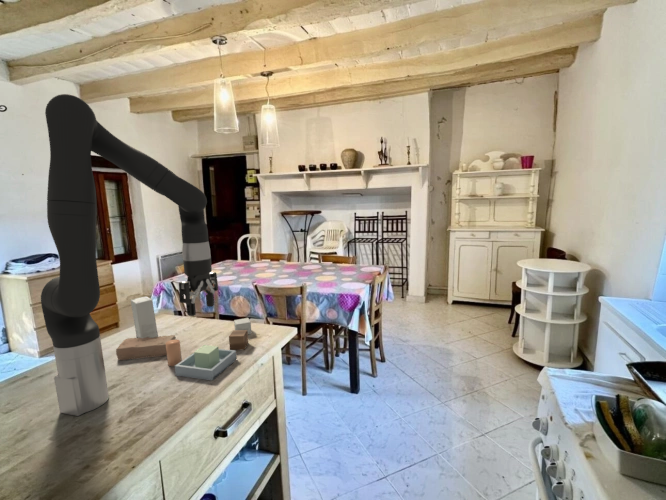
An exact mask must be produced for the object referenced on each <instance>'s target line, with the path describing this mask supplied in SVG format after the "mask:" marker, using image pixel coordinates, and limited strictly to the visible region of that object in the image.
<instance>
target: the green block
mask: <svg viewBox="0 0 666 500" xmlns="http://www.w3.org/2000/svg"><path fill="white" fill-rule="evenodd" d="M219 349H220V348H219V346H218V345H211V344H210V345H209V344H204V345H202V346H201V347H199V348H198V349H197V350H195V351H193V353H194V357H195V367H199V368H207V369H211V368H212V367H213V366H215V365H216V364H217V363H218V362H219V361H220V359H219Z"/></svg>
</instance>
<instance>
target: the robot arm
mask: <svg viewBox="0 0 666 500" xmlns="http://www.w3.org/2000/svg"><path fill="white" fill-rule="evenodd" d="M44 114H45V120H46V126H47V133H48V141H49V150H50V151H49V153H50V157H49V158H50V159H49V167H48V168H49V169H48V179H47V181H48V182H47V193H46V194H47V196H46V200H47V201H46V207H47V208H46V212H47V214H46V217H47V223H48V224H47V225H48V228H49V232H50V234H51V237H52V239H53V242H54V245H55V247H56V250H57V253H58V258H59V276H57V277H55V278H52V279H50V280H49V281H47V283H46V284H45V285H44V286H43V288H42V291H41V294H40V304H41V310H42V315H43V319H44V324H45V327H46V331H47V333H48V336H49V337H50V338H51V342H52V346H53V347H52V348H53V352H54V358H55V365H56V370H57V375H56V376H54V377H53V380H54V385H55V386H54V387H55V392H56V398H57V403H58V410H59V413H60V414H65V415H70V416H76V417H79V416H81V415H83V414H84V413H88V412H91V411H93V410H95V409H98V408H100V406H102V405H103V404H106V402H107V401H108V400H109V397H110V394H109V387H108V381H107V375H106V374H107V373H106V368H105V361H104V353H103V347H102V340H101V333H100V327H99V325H98V324H97V322H95V320H94V318H93V317H92V315H91V313H92V312H93V311H94V309H96V307H97V306H98V303H99V301H100V297H101V289H100V280H99V274H98V272H99V271H98V264H97V263H98V262H97V213H98V212H97V211H98V210H97V209H98V208H97V203H98V202H97V191H96V190H97V189H96V184H95V178H94V173H93V168H92V152H93V153H95V154H96V155H98V156H99V157H102V158H103V159H105V160H107V161H109V162H110V163H112V164H113V165H115V166H116V167H118V168H120V169H121V170H123V171H124V172H125V173H126V174H128V175H129V176H132V177H133V178H134V179H136V180H137V181H139V182H140V183H141V184H142V185H144V186H146V187H147V188H149V189H151V190H152V191H154V192H156V193H157V194H159V195H161V196H164V197H166V198H167V199H169V200H170V201H171V202H173V203H174V204H176V205H177V207H178V213H179V217H180V218H179V219H180V223H181V240H182V241H181V242H182V248H181V249H182V251H181V253H182V262H183V272H184V275H186V276H187V278H186V279H187V280H185V281H179V282H178V292H179V303H181V304H185V305H186V314H187V315H188V316H189V317H194V316H196V314H197V313H196V303H195V301H196V298H197V297H198V296H199V294H200V293H201V292H203V291H204V293H205V299H206V301H205V302H206V306H207V307H210V308H211V307H214V306H215V297H214V295H215V293H216V291H219V285H218V283H219V282H218V277H217V272H213V271H212V270H213V269H212V256H211V248H210V242H209V230H208V225H207V223H206V220H205V209H206V206H207V205H208V204H207V203H208V200H207V196H206V194H205V193H204V192H203V191H202V190H201V189H200V188H198V187H197V186H195V185H194V184H192V183H191V182H189V181H187V180H185V179H183V178H181V177H180V176H178V175H177V174H175V172H173V171H171V170H170V169H169V168H168V167H166V166H165V165H163V164H162V163H161V162H159V161H158V160H157V159H155V158H152V157H151V156H150V155H148V154H146V153H145V152H142V151H141V150H138V149H136V148H135V147H133V146H131V145H130V144H127V143H126V142H124V141H122V140H121V139H119V138H118V137H116V136H115V135H114V134H113V133H111V132H110V131H109V130H108V129H106V127H104V126H103V125H102V124H101V123H100V122H99V121H98V120H97V117H96V114H95V112H94V111H93V109H92V108H91V106H90V105H89V104H88V103H87V102H86V101H84V100H83V99H81V98H80V97H78V96H76V95H74V94H71V93H70V94H68V93H61V94H58V95H55V96H53V97H52V98H51V99H50V100H49V101H48V103H47V104H46V107H45V113H44Z"/></svg>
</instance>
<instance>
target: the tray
mask: <svg viewBox="0 0 666 500" xmlns="http://www.w3.org/2000/svg"><path fill="white" fill-rule="evenodd" d="M219 359H220V361H219V362H218V363H217V364H216V365H215V366H213V367H212V368H211V369H207V368H199V367H195V357H194V352H193V353H192V354H190V355H188V356H187V357H185V358H184V359H182V361H181V362H180V363H178V364H177V365H175V366H174V371H175V376H178V377H184V378H193V379H199V380H207V381H212V380H213V381H215V379H216V378H217V377H219V376H220V375H221V374H222V373H223V372H224V371H226V370H227V369H228V368H229V367H230V366H231V365H232V364H233V363H234V362H236V361H237V360H236V359H237V350H230V349H225V348H224V349H223V348H219ZM235 360H236V361H235ZM227 367H228V368H227ZM219 374H220V375H219Z"/></svg>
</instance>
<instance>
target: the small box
mask: <svg viewBox="0 0 666 500" xmlns="http://www.w3.org/2000/svg"><path fill="white" fill-rule="evenodd" d="M233 323H234V325H233V326H234V330H247V331H248V335H252V322H251V321H250V318H249V317H245V318H239V319H234V320H233Z"/></svg>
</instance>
